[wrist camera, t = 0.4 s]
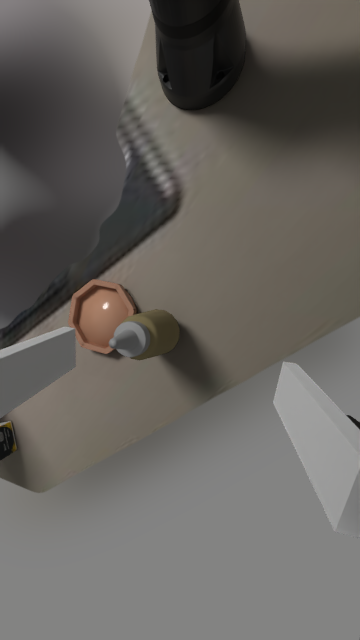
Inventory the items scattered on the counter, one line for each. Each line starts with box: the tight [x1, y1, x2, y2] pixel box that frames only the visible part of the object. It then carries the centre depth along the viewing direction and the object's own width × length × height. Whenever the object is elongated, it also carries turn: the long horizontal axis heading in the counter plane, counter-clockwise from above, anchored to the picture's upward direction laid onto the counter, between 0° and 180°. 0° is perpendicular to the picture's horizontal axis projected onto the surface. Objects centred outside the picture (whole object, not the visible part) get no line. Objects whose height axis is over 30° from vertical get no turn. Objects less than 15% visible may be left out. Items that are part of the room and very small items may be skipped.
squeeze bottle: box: [109, 309, 180, 360], centre depth 32 cm, size 8×8×18 cm
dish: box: [68, 279, 137, 354], centre depth 42 cm, size 14×14×2 cm
